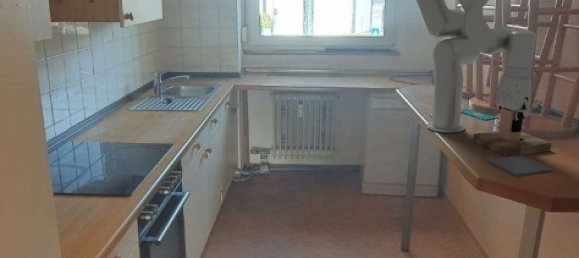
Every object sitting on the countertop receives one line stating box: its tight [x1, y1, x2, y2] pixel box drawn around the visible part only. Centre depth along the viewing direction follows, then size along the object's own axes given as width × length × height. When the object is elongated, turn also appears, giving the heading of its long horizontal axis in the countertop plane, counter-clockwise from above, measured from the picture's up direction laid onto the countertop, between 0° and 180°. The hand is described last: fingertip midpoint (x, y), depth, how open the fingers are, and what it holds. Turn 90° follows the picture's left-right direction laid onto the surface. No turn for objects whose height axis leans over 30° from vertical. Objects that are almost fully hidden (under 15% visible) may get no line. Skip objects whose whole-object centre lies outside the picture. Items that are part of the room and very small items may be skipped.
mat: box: [486, 154, 554, 177], centre depth 141 cm, size 12×12×1 cm
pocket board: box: [472, 130, 552, 157], centre depth 158 cm, size 16×16×2 cm
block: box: [498, 108, 524, 142], centre depth 157 cm, size 4×4×10 cm
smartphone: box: [461, 108, 494, 121], centre depth 195 cm, size 7×1×15 cm
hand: (510, 128), depth 157 cm, fingers closed on block, 4 cm apart
